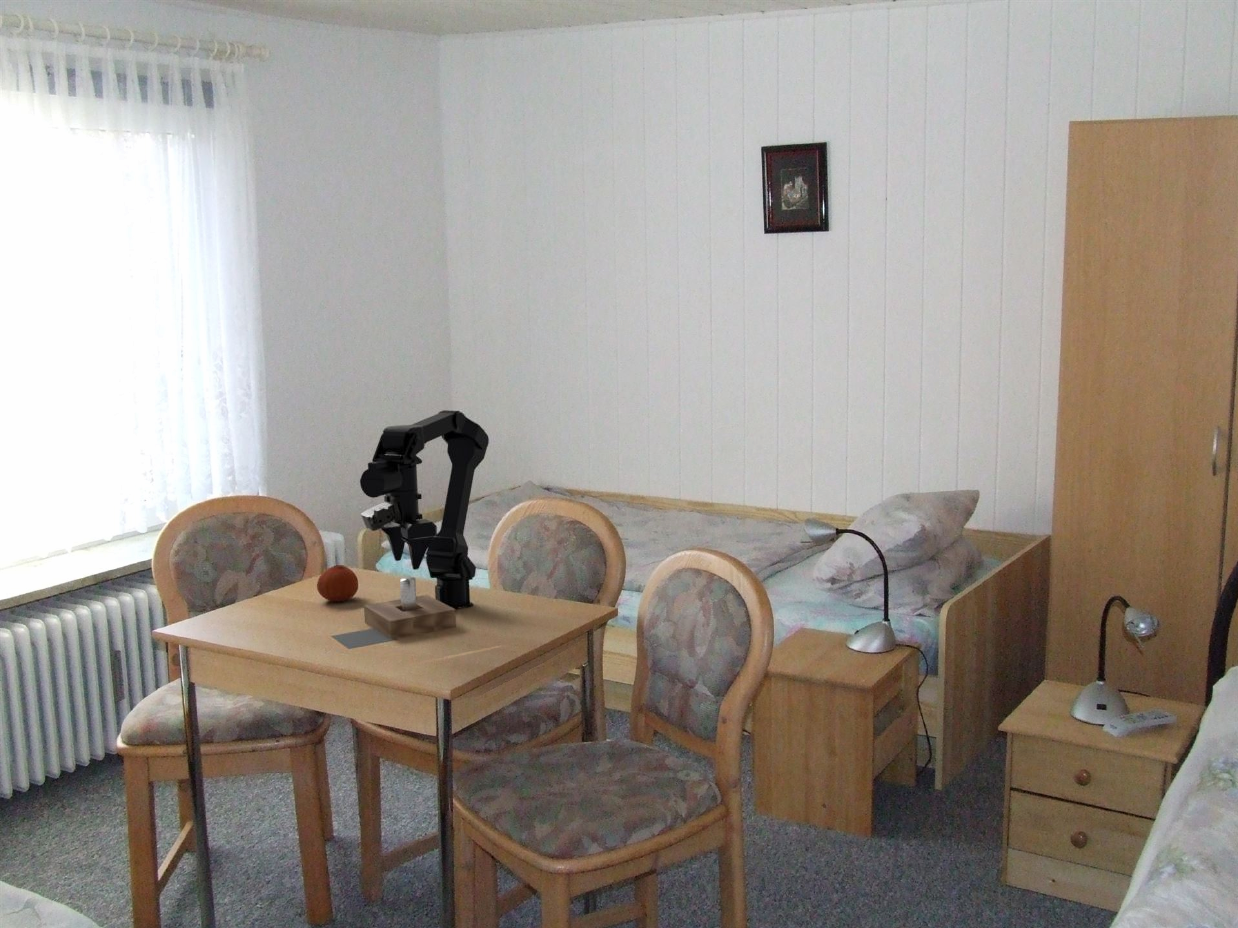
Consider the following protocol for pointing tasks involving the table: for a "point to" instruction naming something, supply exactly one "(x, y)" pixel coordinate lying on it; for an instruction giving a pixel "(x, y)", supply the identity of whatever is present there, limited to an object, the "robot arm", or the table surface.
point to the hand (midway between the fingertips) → (406, 564)
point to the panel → (362, 638)
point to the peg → (408, 593)
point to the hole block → (409, 617)
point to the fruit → (337, 583)
